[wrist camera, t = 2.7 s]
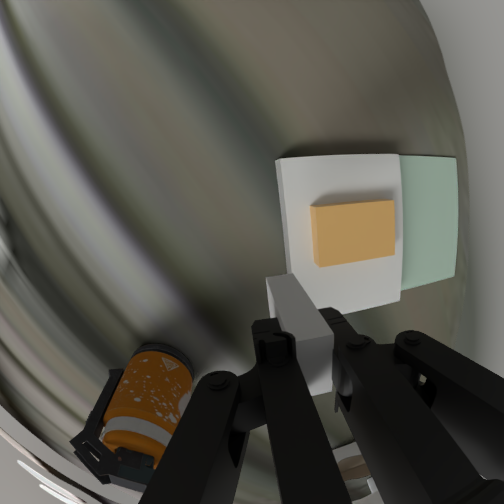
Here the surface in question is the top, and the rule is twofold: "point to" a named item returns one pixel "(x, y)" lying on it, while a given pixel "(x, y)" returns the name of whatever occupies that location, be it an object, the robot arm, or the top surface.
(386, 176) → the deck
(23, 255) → the top surface
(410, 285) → the mat
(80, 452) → the canister
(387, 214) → the light orange flat block
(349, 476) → the gable box
